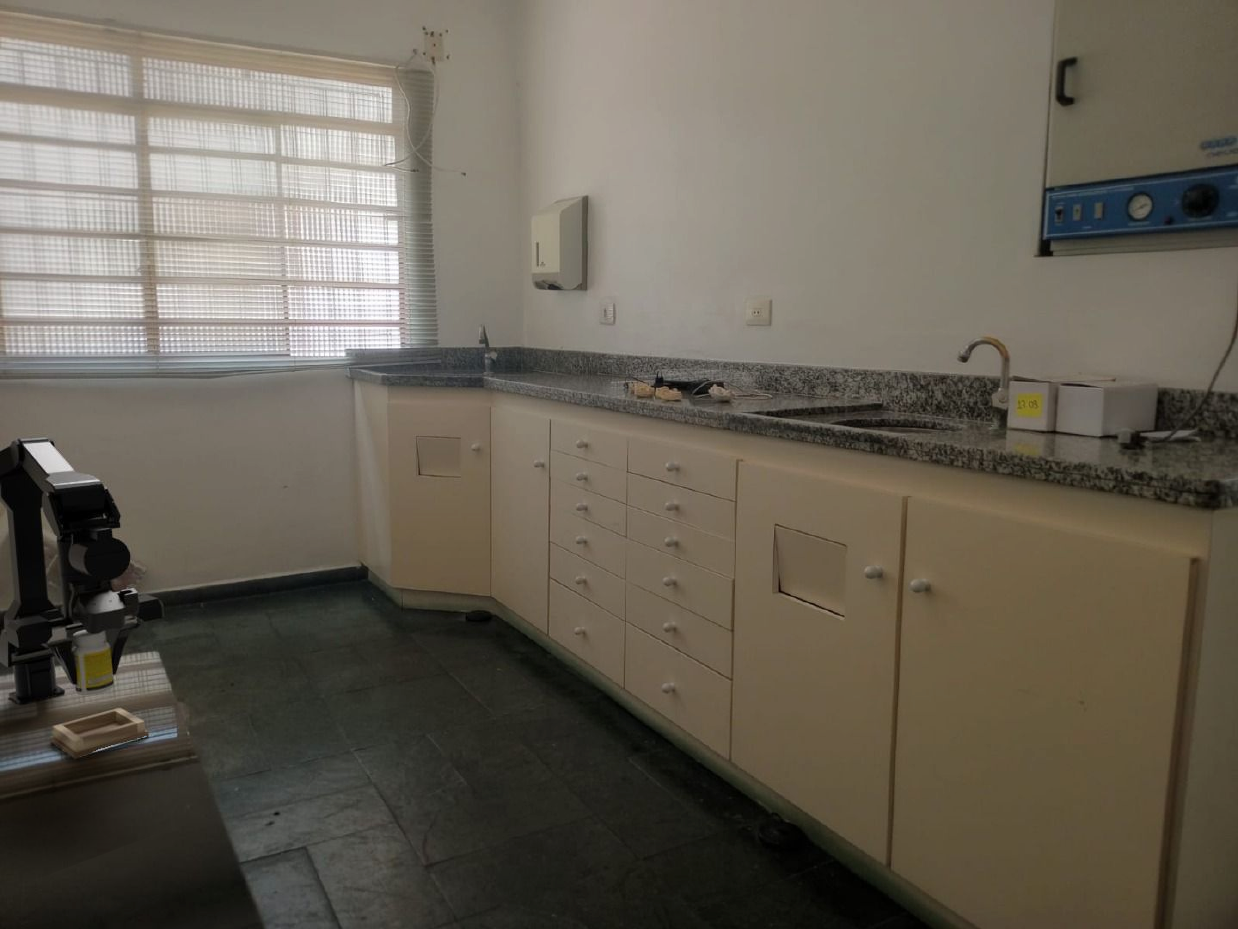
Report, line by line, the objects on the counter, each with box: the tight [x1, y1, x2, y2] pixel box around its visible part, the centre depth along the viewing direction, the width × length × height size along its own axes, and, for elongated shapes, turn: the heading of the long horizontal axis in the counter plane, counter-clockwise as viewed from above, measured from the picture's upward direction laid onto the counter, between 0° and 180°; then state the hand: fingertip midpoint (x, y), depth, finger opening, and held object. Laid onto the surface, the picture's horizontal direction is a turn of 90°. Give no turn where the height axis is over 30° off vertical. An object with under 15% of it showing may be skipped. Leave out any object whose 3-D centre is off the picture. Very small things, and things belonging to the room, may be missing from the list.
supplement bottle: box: [72, 629, 115, 696], centre depth 134 cm, size 5×5×8 cm
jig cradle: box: [50, 707, 150, 759], centre depth 135 cm, size 10×10×2 cm
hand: (93, 679), depth 134 cm, fingers closed on supplement bottle, 5 cm apart
